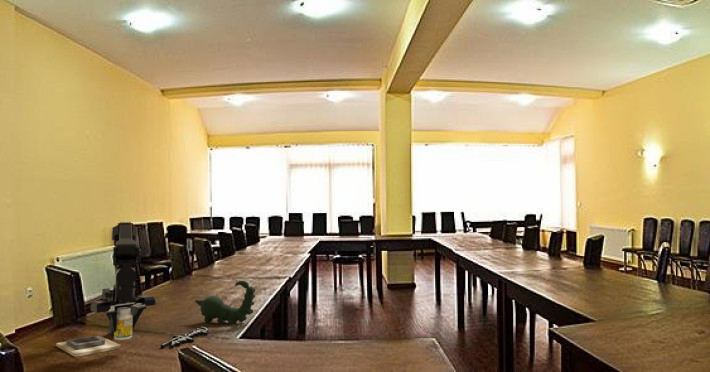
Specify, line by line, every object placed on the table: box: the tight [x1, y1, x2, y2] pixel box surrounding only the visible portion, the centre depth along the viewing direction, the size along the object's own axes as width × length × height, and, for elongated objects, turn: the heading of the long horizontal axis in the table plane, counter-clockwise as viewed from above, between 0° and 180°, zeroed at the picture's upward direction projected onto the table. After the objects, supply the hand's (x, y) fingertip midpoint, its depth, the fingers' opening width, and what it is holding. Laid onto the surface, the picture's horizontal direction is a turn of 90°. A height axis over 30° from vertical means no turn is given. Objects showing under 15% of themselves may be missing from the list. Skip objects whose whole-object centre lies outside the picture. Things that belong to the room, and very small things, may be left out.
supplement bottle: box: [113, 307, 133, 341], centre depth 158 cm, size 5×5×10 cm
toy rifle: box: [160, 326, 209, 350], centre depth 177 cm, size 28×2×10 cm
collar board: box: [55, 335, 122, 358], centre depth 164 cm, size 14×18×2 cm
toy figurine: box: [194, 280, 256, 326], centre depth 203 cm, size 9×19×25 cm
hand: (123, 330), depth 158 cm, fingers closed on supplement bottle, 5 cm apart
